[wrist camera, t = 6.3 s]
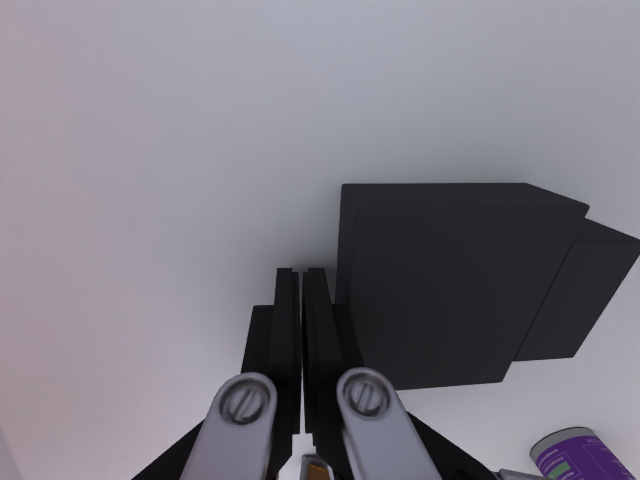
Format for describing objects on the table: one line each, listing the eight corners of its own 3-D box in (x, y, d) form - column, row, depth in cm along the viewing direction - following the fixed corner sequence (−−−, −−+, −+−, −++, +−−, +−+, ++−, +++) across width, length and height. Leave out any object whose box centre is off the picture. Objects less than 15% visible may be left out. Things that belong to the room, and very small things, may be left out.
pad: (341, 183, 9) (356, 208, 7) (591, 182, 10) (673, 204, 8) (331, 345, 13) (340, 395, 11) (517, 334, 14) (560, 378, 12)
